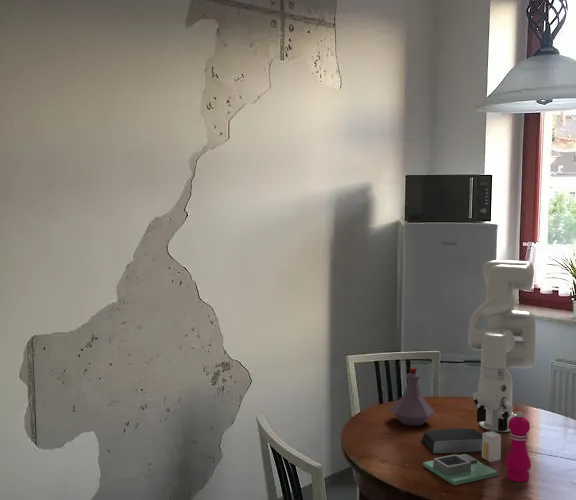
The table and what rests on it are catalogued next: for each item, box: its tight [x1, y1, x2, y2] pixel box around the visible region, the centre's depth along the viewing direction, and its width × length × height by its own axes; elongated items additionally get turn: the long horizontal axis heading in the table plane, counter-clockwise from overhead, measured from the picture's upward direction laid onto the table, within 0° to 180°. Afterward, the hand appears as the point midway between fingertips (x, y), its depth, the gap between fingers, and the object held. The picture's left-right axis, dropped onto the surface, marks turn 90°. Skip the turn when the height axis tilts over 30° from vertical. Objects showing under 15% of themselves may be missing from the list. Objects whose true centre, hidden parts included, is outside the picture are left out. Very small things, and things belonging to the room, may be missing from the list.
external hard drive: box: [421, 428, 482, 454], centre depth 225 cm, size 13×19×4 cm
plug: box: [481, 430, 502, 463], centre depth 213 cm, size 4×4×8 cm
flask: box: [389, 366, 436, 427], centre depth 247 cm, size 16×16×20 cm
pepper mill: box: [504, 411, 532, 483], centre depth 198 cm, size 7×7×20 cm
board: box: [422, 453, 499, 486], centre depth 204 cm, size 16×15×4 cm
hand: (491, 425), depth 212 cm, fingers open, 9 cm apart
